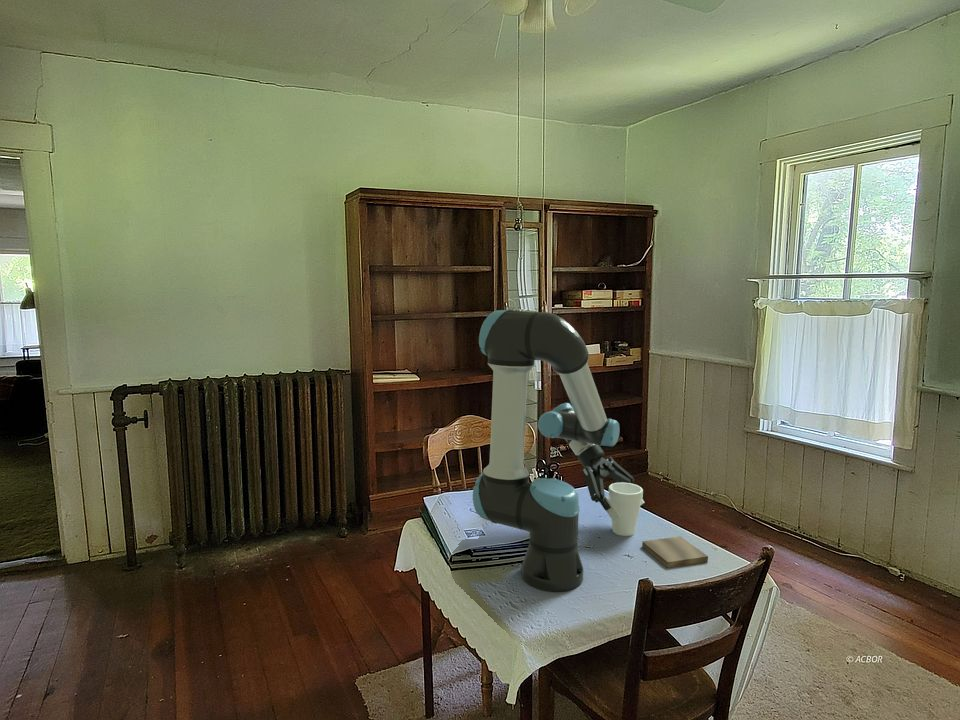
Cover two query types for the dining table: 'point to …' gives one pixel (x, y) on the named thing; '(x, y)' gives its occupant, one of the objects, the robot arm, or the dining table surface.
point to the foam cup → (625, 507)
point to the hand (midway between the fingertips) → (629, 511)
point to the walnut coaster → (674, 551)
